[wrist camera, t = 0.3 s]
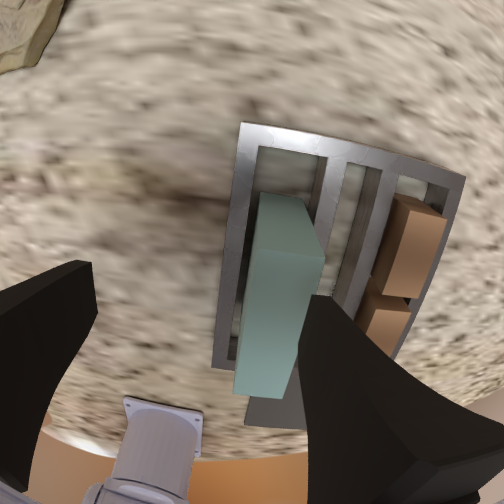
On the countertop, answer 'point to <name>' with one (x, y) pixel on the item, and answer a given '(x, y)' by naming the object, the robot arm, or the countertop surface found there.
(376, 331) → the walnut offcut
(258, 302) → the teal panel
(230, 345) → the rack
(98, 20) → the countertop surface
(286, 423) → the dark grey square plate
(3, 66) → the stone slab
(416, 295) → the walnut offcut
